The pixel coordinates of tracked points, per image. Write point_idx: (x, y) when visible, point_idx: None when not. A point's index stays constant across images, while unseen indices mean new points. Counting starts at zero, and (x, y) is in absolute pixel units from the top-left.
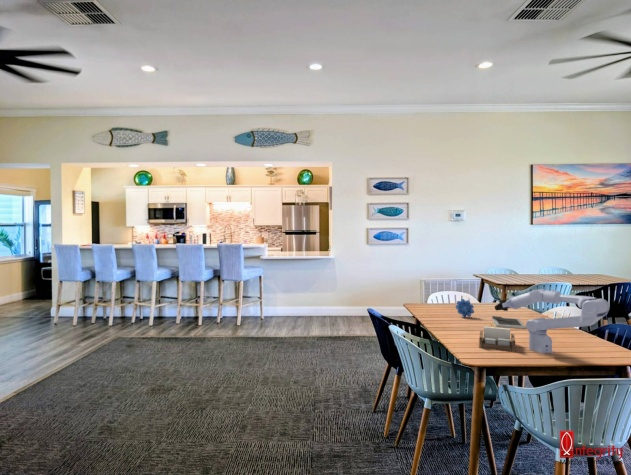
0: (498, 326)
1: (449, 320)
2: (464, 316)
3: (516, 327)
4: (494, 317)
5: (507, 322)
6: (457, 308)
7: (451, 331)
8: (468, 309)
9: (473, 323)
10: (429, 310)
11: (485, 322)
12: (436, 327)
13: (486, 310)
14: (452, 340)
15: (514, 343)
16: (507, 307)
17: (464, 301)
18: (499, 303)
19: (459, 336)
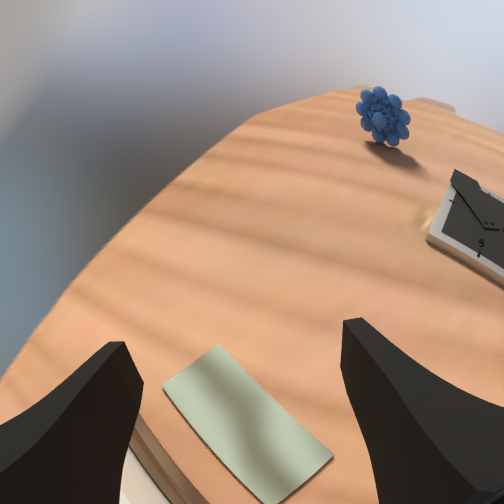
0: (432, 242)
1: (303, 149)
2: (377, 141)
3: (490, 275)
4: (456, 179)
5: (479, 226)
6: (359, 112)
7: (183, 234)
8: (390, 124)
9: (362, 186)
10: (322, 100)
11: (414, 191)
12: (186, 188)
13: (465, 135)
14: (69, 324)
15: None
16: (351, 394)
17: (382, 96)
18: (13, 425)
19: (140, 296)
